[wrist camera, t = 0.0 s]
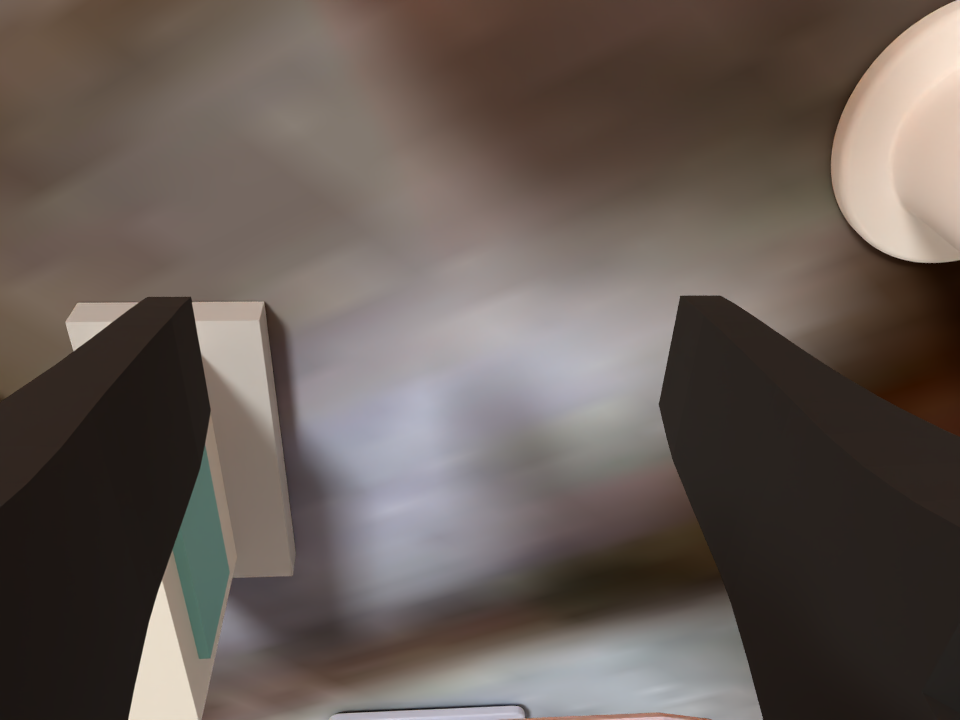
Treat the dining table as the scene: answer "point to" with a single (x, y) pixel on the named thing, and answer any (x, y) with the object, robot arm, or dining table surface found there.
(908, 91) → the candle
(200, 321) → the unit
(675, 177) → the dining table surface
